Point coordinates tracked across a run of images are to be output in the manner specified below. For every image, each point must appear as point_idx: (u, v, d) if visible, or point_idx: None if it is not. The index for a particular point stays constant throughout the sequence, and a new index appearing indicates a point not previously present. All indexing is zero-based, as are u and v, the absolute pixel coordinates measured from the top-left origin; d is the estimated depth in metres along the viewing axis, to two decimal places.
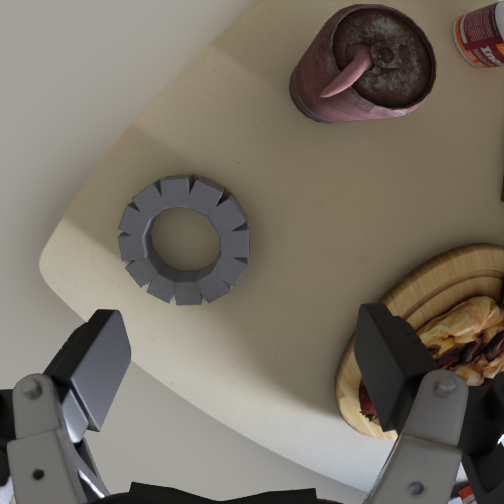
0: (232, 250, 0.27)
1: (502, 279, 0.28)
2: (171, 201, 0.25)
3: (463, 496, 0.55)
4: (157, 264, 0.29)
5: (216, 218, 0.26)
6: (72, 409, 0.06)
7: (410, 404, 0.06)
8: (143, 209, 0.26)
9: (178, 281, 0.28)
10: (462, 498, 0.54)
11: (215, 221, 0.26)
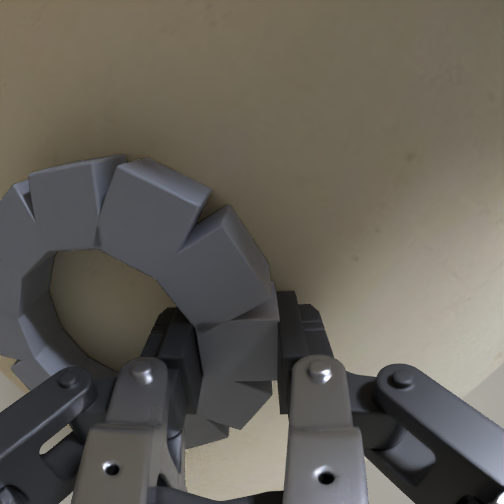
0: (79, 215, 0.08)
1: None
2: (20, 346, 0.09)
3: None
4: None
5: (18, 258, 0.08)
6: (180, 391, 0.07)
7: (289, 386, 0.07)
8: None
9: (202, 366, 0.10)
10: None
11: (24, 260, 0.08)
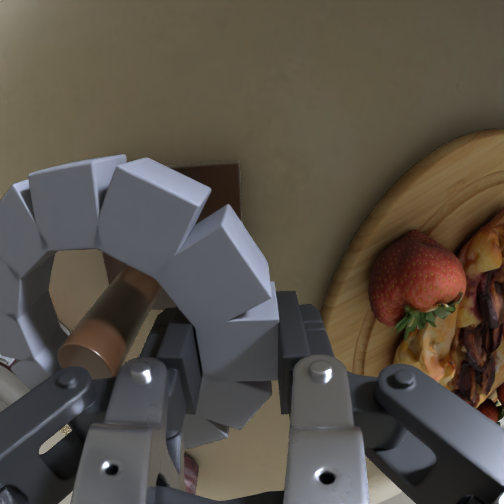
0: (78, 215, 0.08)
1: None
2: (20, 345, 0.09)
3: None
4: None
5: (18, 258, 0.08)
6: (179, 391, 0.07)
7: (291, 385, 0.07)
8: None
9: None
10: None
11: (24, 260, 0.08)
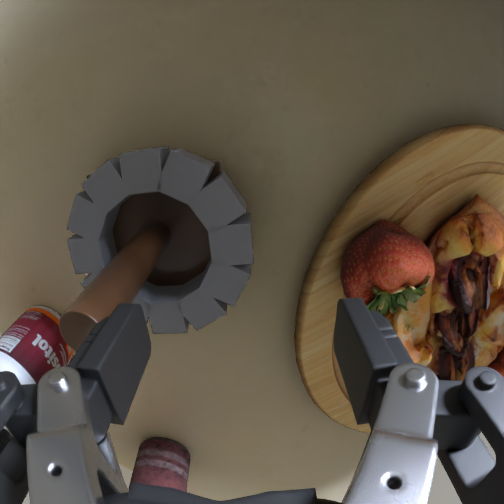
0: (149, 174, 0.16)
1: None
2: (95, 261, 0.18)
3: None
4: (195, 283, 0.20)
5: (106, 201, 0.17)
6: (98, 402, 0.07)
7: (380, 396, 0.06)
8: None
9: (211, 257, 0.18)
10: None
11: (111, 201, 0.17)
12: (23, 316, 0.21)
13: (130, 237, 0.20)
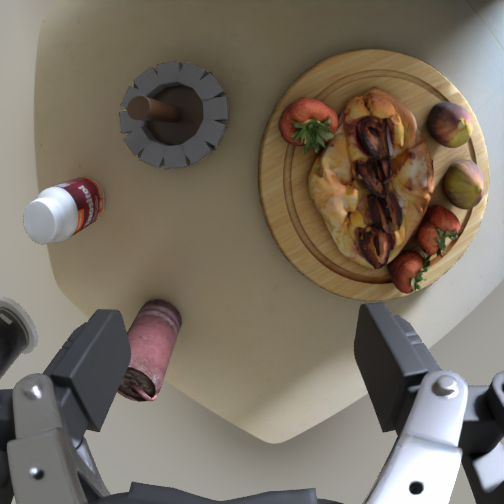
0: (173, 73, 0.28)
1: None
2: (135, 123, 0.30)
3: None
4: None
5: (147, 88, 0.28)
6: (72, 409, 0.06)
7: (410, 404, 0.06)
8: (142, 145, 0.31)
9: None
10: None
11: (150, 88, 0.28)
12: None
13: None
